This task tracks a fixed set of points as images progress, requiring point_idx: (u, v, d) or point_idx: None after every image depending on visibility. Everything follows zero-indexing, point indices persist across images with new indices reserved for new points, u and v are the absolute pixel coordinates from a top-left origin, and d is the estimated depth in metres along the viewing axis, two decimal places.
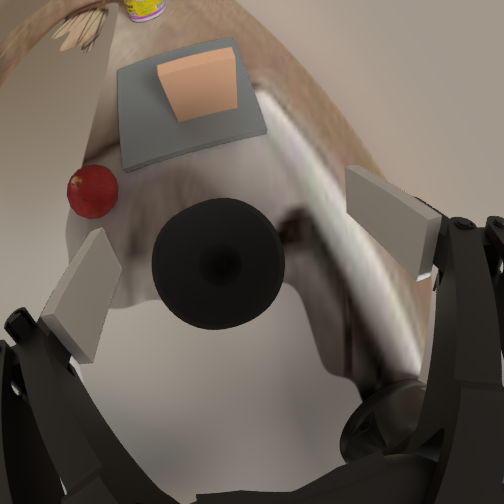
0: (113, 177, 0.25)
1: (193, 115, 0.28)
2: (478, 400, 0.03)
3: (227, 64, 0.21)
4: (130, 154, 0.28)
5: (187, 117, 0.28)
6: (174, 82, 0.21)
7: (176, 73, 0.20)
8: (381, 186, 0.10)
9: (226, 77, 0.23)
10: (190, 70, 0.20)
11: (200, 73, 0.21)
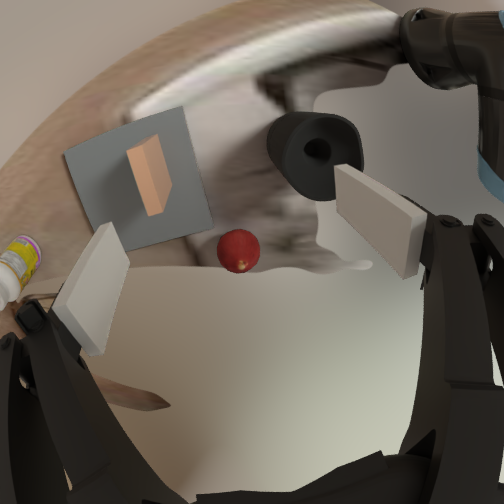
0: (229, 234, 0.36)
1: (167, 173, 0.32)
2: (469, 400, 0.03)
3: (145, 151, 0.23)
4: (200, 223, 0.37)
5: (169, 177, 0.33)
6: (161, 196, 0.27)
7: (158, 196, 0.26)
8: (368, 185, 0.11)
9: (150, 149, 0.25)
10: (154, 184, 0.25)
11: (153, 174, 0.25)
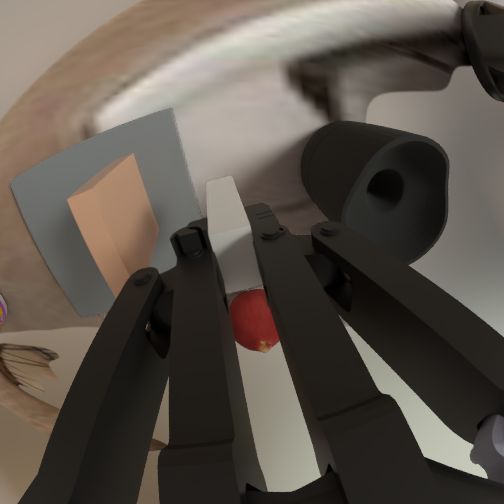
0: (244, 300, 0.25)
1: (151, 213, 0.21)
2: (352, 431, 0.03)
3: (101, 196, 0.12)
4: None
5: (154, 220, 0.22)
6: (138, 268, 0.16)
7: (131, 273, 0.15)
8: (225, 198, 0.12)
9: (113, 188, 0.14)
10: (123, 254, 0.14)
11: (121, 234, 0.14)
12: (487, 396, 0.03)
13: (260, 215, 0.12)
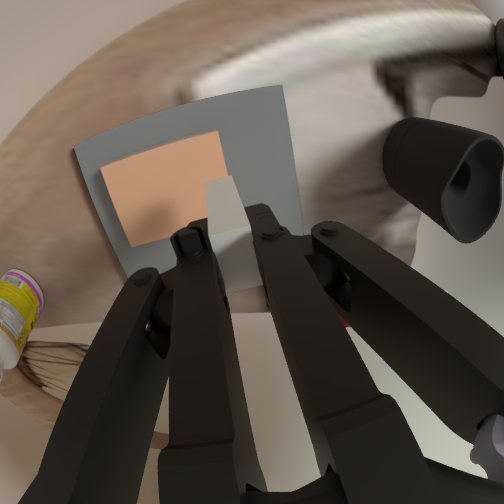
0: None
1: None
2: (352, 431, 0.03)
3: (112, 173, 0.18)
4: None
5: None
6: (143, 230, 0.20)
7: (128, 229, 0.20)
8: (225, 198, 0.12)
9: (137, 167, 0.18)
10: (122, 214, 0.19)
11: (129, 202, 0.19)
12: (487, 396, 0.03)
13: (260, 215, 0.12)
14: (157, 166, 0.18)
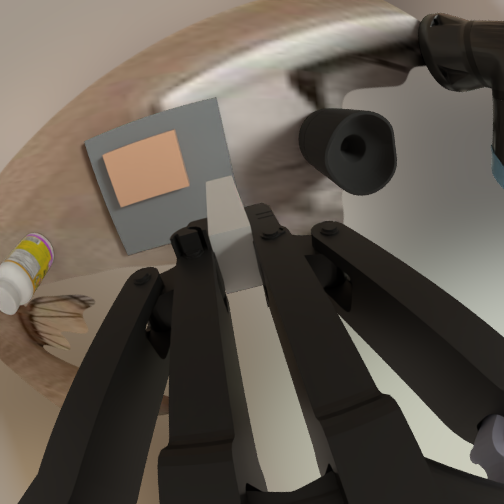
0: None
1: (180, 173, 0.30)
2: (351, 431, 0.03)
3: (110, 158, 0.28)
4: None
5: (182, 178, 0.31)
6: (128, 195, 0.30)
7: (119, 194, 0.30)
8: (225, 198, 0.12)
9: (125, 154, 0.28)
10: (116, 185, 0.29)
11: (120, 176, 0.29)
12: (487, 396, 0.03)
13: (260, 215, 0.12)
14: (137, 153, 0.28)
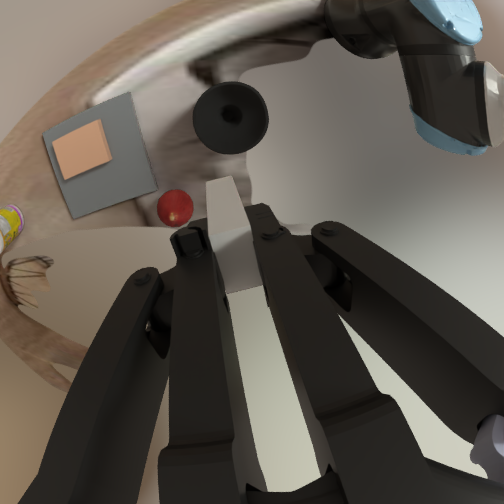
0: (165, 193, 0.40)
1: (102, 151, 0.35)
2: (352, 431, 0.03)
3: (57, 144, 0.33)
4: (145, 186, 0.42)
5: (104, 155, 0.36)
6: (69, 170, 0.36)
7: (63, 170, 0.35)
8: (225, 198, 0.12)
9: (66, 140, 0.33)
10: (61, 163, 0.35)
11: (63, 157, 0.34)
12: (487, 396, 0.03)
13: (260, 215, 0.12)
14: (74, 139, 0.33)
